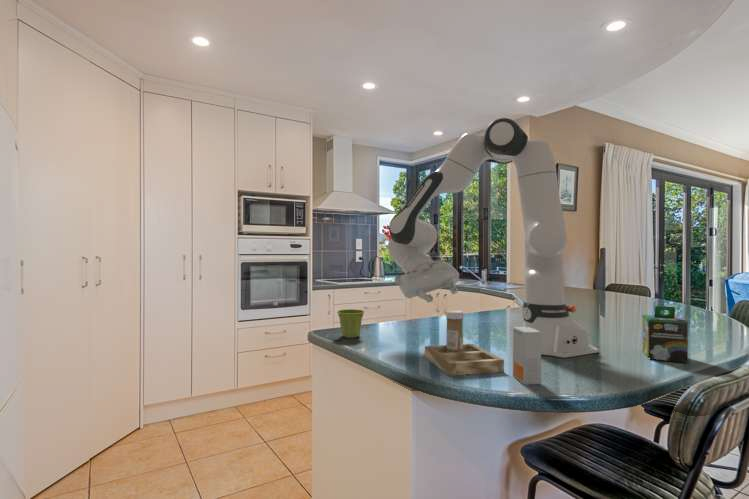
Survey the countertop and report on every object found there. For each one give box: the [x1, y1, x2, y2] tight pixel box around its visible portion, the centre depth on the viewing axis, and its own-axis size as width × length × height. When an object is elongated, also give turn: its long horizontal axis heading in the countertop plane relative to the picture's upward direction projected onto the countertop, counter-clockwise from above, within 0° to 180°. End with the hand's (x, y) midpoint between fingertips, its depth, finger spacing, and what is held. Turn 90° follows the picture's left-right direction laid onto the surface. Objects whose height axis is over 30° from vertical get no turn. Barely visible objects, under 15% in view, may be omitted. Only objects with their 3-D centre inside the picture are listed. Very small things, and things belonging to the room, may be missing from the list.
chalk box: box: [641, 305, 689, 364], centre depth 111 cm, size 9×9×15 cm
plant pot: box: [336, 308, 365, 339], centre depth 135 cm, size 9×9×9 cm
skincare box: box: [512, 326, 542, 386], centre depth 92 cm, size 6×4×12 cm
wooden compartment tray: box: [424, 343, 505, 377], centre depth 104 cm, size 15×17×3 cm
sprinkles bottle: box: [445, 309, 464, 353], centre depth 108 cm, size 5×5×14 cm
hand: (443, 296), depth 120 cm, fingers open, 8 cm apart
